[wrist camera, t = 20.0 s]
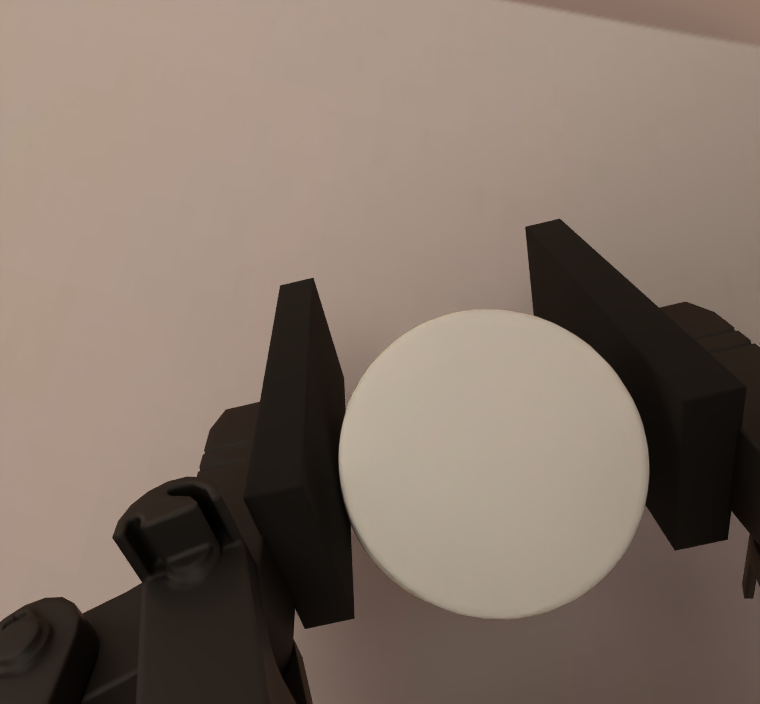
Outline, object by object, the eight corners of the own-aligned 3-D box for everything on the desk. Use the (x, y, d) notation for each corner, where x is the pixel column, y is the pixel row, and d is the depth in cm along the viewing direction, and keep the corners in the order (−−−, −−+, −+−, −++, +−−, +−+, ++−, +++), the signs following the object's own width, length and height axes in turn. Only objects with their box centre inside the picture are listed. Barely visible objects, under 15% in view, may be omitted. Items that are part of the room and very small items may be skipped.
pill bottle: (494, 608, 15) (561, 751, 7) (341, 502, 16) (234, 511, 8) (588, 448, 15) (754, 397, 7) (436, 356, 16) (431, 220, 8)
